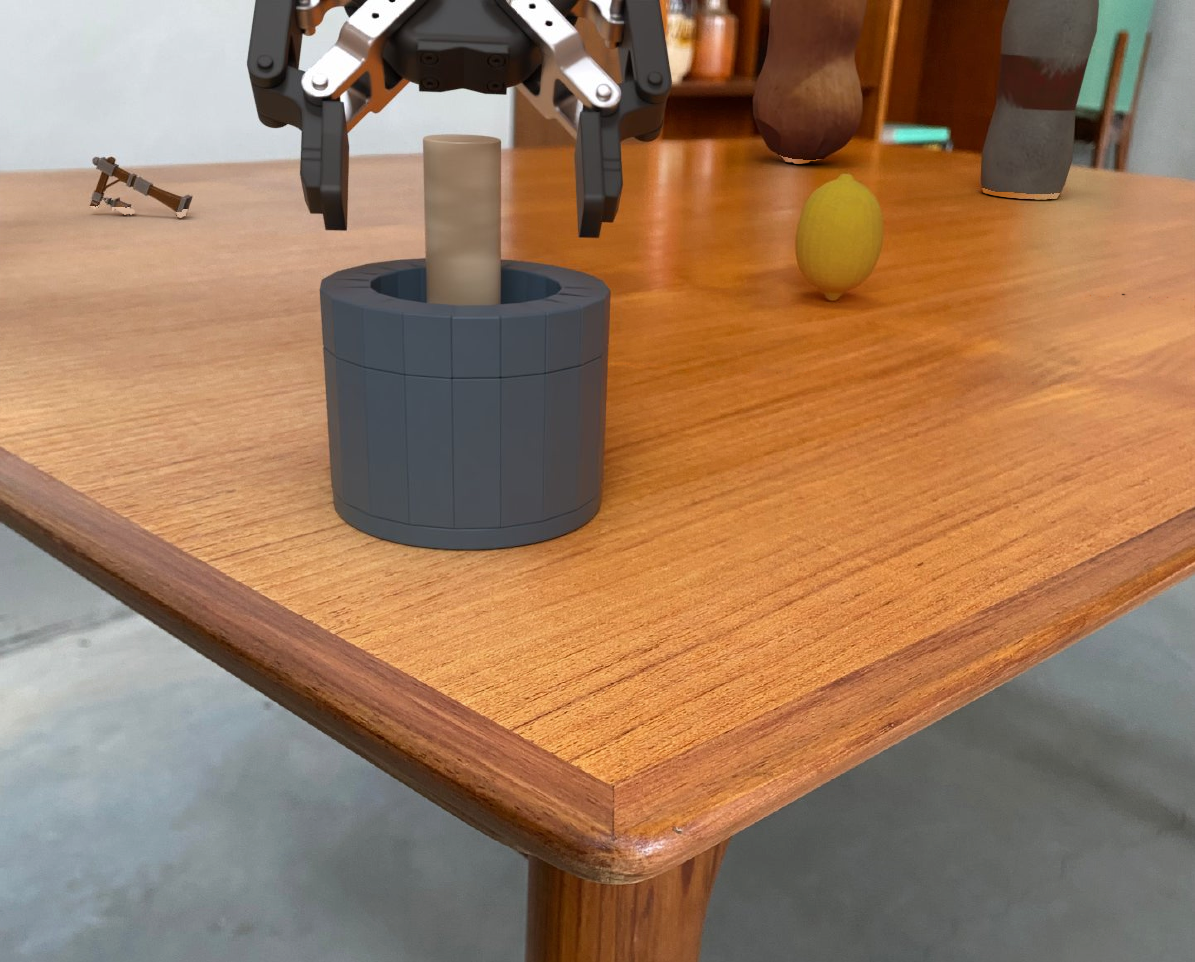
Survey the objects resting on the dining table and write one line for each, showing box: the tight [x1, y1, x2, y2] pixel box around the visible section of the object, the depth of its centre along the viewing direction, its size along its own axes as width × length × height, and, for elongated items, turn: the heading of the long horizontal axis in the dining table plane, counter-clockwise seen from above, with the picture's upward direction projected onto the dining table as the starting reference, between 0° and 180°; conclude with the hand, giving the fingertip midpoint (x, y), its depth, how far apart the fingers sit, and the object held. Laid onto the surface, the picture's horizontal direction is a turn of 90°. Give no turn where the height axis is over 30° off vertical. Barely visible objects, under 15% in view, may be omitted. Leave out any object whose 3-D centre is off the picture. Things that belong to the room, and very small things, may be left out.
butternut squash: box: [752, 0, 868, 160], centre depth 152 cm, size 14×13×25 cm
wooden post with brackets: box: [89, 156, 194, 213], centre depth 102 cm, size 2×8×4 cm, turn 89°
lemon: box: [794, 172, 884, 302], centre depth 80 cm, size 6×6×8 cm
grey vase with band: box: [980, 0, 1100, 194], centre depth 129 cm, size 9×9×30 cm
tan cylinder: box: [422, 133, 502, 305], centre depth 44 cm, size 4×4×12 cm
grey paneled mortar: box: [319, 257, 612, 551], centre depth 45 cm, size 10×10×8 cm
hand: (464, 220), depth 41 cm, fingers open, 8 cm apart
